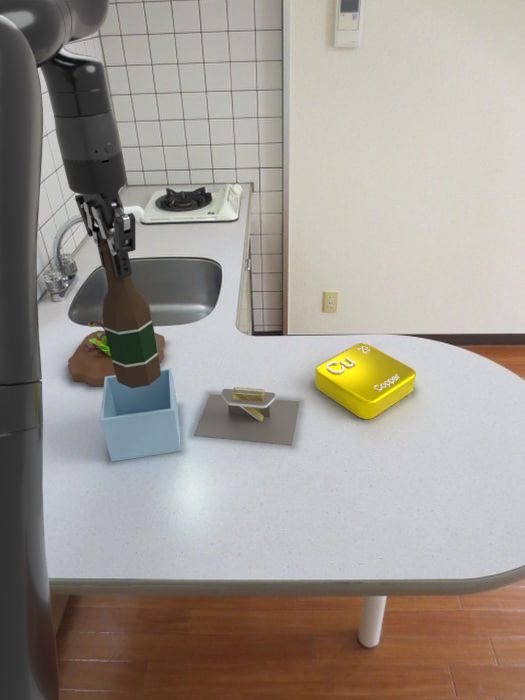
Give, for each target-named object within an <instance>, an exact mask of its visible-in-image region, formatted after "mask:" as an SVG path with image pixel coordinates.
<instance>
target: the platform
mask: <svg viewBox="0 0 525 700" xmlns="http://www.w3.org/2000/svg"><path fill="white" fill-rule="evenodd" d="M299 407H300V401H297V400H287V399H277V398H276V393H275V392H272V391H271V392H270V391H266V390H265V389H264V388H253V387H247V389H244V386H243V387H241V386H235V387H233V388H223V389H222V390H221V393H220V394H216V393H209V396H208V398H207V401H206V403H205V406H204V408H203V410H202V413H201V415H200V418H199V421H198V424H197V426H196V429H195V431H194V434H193V436H194V437H195V436H197V437H206V438H214V439H226V440H234V441H235V440H237V441H243V442H245V441H246V442H256V443H267V444H275V445H276V444H277V445H286V446H292V445H293V441H294V435H295V429H296V424H297V418H298V414H299V413H298V412H299Z"/></svg>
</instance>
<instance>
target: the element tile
mask: <svg viewBox="0 0 525 700" xmlns="http://www.w3.org/2000/svg"><path fill="white" fill-rule="evenodd" d="M314 369H315V371H314V386H315V388H316V389H317V390H318V391H319V392H321V393H323V394H324V395H325V396H326V397H328V398H330V399H331V400H333V401H334V402H336V403H337V404H339V405H340V406H342V407H343V408H345V409H346V410H347V411H349V412H351V413H352V414H353V415H355V416H357V417H358V418H360V419H363V420H371V419H374V418H376V417H377V416H379V415H380V414H382V413H383V412H384V411H386V410H387V409H389V408H390V407H392V406H393V405H395V404H396V403H398V402H399V401H401V400H402V399H404V398H405V397H407V396H408V395H410V394H411V393H412V392H413V391H414V388H415V382H416V375H417V373H416V371H415V369H414V368H412V367H411V366H409V365H407V364H405V363H403V362H401V361H400V360H398V359H396V358H394V357H393V356H390V355H388V354H387V353H385V352H383V351H382V350H380V349H378V348H377V347H374V346H372V345H370V344H368V343H365V342H360V343H357V344H356V343H355V344H354V345H352V346H350V347H349V348H347V349H345V350H343V351H342V352H340V353H337V354H336V355H334V356H332V357H330V358H329V359H327V360H325V361H323V362H322V363H320V364H318V365H317V366H316V367H315V368H314Z"/></svg>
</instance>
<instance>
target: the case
mask: <svg viewBox="0 0 525 700" xmlns="http://www.w3.org/2000/svg"><path fill="white" fill-rule="evenodd" d="M160 371H161V376H160V377H159V378H158V379H156V380H155V381H154V382H153V383H151V384H150V385H149V386H143V387H137V388H130V387H127V386H125V385H123V384H120V383H119V382H118V381H117V377H116V375H114V376H106V377H105V381H104V386H103V390H102V399H101V408H100V417H99V422H100V426H101V430H102V433H103V436H104V440H105V443H106V447H107V451H108V455H109V457H110V460H111V461H110V462H119V461H124V460H131V459H138V458H143V457H151V456H157V455H164V454H170V453H178V452H181V451H182V449H181V432H180V419H179V418H180V417H179V406H178V400H177V393H176V388H175V382H174V376H173V370H172V367H168V368H160Z"/></svg>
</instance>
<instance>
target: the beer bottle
mask: <svg viewBox="0 0 525 700" xmlns="http://www.w3.org/2000/svg"><path fill="white" fill-rule="evenodd" d="M114 243H115V238H114ZM100 251H102V252H103V258H104V264H105V268H104V270H105V277H106V283H107V292H106V293H105V295H104V298H103V303H102V313H101V314H102V316H101V317H102V323H103V324H104V329H105V330H104V329H103V330H104V331H105V334H106V338H107V342H108V346H109V350H110V354H111V358H112V362H113V366H114V371H115V374H116V377H117V381H118V382H119V383H120V384H123V385H125V386H127V387H130V388H137V387H143V386H149V385H150V384H151V383H153V382H154V381H155V380H156V379H158V378H159V377H160V376H161V371H160V369H161V363H159V355H158V349H157V344H156V338H155V333H156V332H155V328H154V322H153V315H152V310H151V307H150V303H149V300H148V299H147V297H146V295H145V293H143V292H142V291H141V290H140V289H139V287H137V286H136V285H135V284H136V283H135V282H134V280H133V277H132V274H131V275H130V276H128V277H125V278H122V279H119V278H118V277H116V275H115V270H114V265H113V261H112V256H111V252H110V248H109V245H108V242H107V240H106V239H103V240H101V241H100Z"/></svg>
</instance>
